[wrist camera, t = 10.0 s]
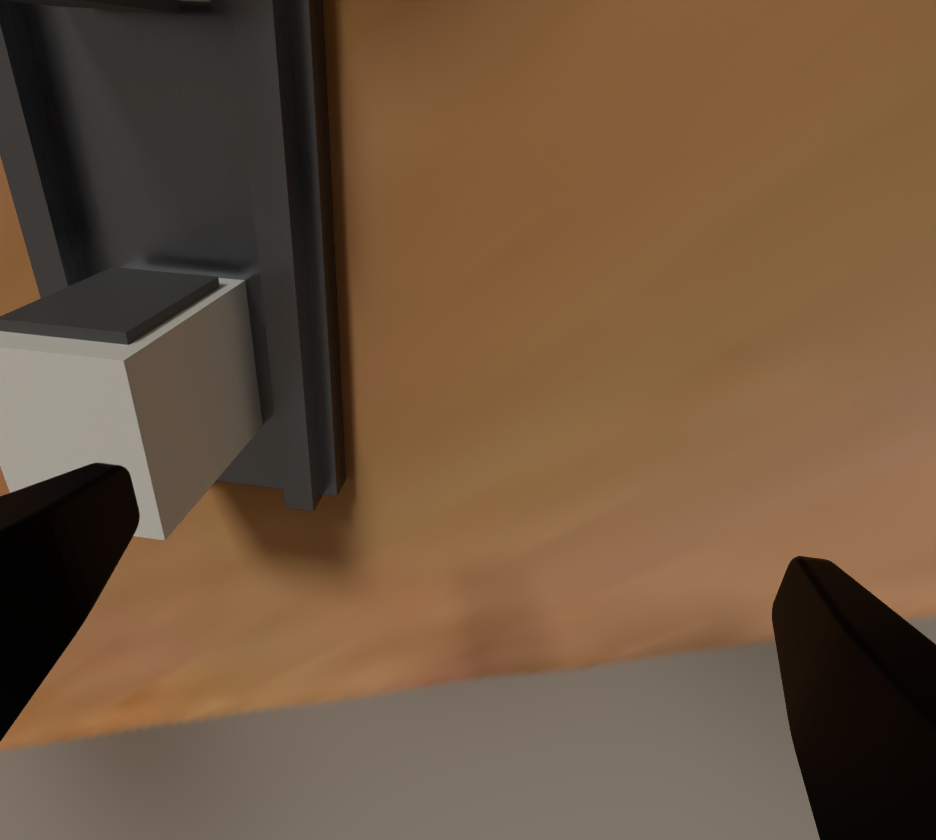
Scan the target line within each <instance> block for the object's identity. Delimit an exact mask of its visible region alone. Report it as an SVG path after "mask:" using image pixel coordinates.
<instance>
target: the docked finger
mask: <svg viewBox="0 0 936 840" xmlns="http://www.w3.org/2000/svg"><path fill="white" fill-rule="evenodd" d="M4 1H13V2H21V3H30V4H39V5H48V6H59V7H76V8H94V9H112V10H129V11H147V12H164V13H180V12H179V5H178V0H4ZM182 1H200V2H210V0H182Z"/></svg>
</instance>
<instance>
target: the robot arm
mask: <svg viewBox="0 0 936 840" xmlns="http://www.w3.org/2000/svg"><path fill="white" fill-rule="evenodd" d="M139 519H140V513H139V508H138V504H137V500H136V496H135V491H134V487H133V483H132V479H131V476H130V473H129V471H128V470H127V469H126V468H125V467H123V466H121V465H114V464H106V463H92V464H89V465H86V466H83V467H81V468H78V469H75V470H72V471H70V472H67V473H64V474H61V475H58V476H56V477H53V478H50V479H47V480H45V481H42V482H39V483H36V484H33V485H31V486H28V487H25V488H22V489H20V490H17V491H14V492H11V493H9V494H6V495H3V496H0V741H1V740H2V739H3V737H4V736H5V734H6V733H7V731H8V730H9V729H10V727H11V726H12V724H13V723H14V721H15V720H16V719H17V717H18V716H19V714H20V713H21V712H22V710H23V709H24V707H25V706H26V704H27V703H28V702H29V700H30V699H31V697H32V696H33V695H34V693H35V692H36V690H37V689H38V687H39V686H40V685H41V683H42V682H43V680H44V679H45V677H46V676H47V675H48V673H49V672H50V670H51V669H52V668H53V666H54V665H55V663H56V662H57V660H58V659H59V658H60V656H61V655H62V653H63V652H64V651H65V649H66V648H67V646H68V645H69V643H70V642H71V641H72V639H73V638H74V636H75V635H76V633H77V632H78V630H79V629H80V627H81V626H82V624H83V623H84V621H85V620H86V618H87V616H88V614H89V613H90V611H91V610H92V608H93V606H94V605H95V603H96V601H97V599H98V597H99V596H100V594H101V592H102V590H103V589H104V587H105V585H106V583H107V582H108V580H109V578H110V576H111V574H112V573H113V571H114V569H115V567H116V566H117V564H118V562H119V560H120V558H121V557H122V555H123V553H124V551H125V550H126V548H127V546H128V544H129V543H130V541H131V539H132V537H133V535H134V534H135V532H136V530H137V527H138V524H139ZM772 623H773V629H774V635H775V641H776V647H777V653H778V659H779V666H780V672H781V678H782V684H783V691H784V697H785V703H786V709H787V715H788V720H789V726H790V731H791V736H792V740H793V744H794V748H795V751H796V755H797V759H798V762H799V766H800V769H801V773H802V777H803V780H804V784H805V787H806V791H807V794H808V798H809V802H810V805H811V809H812V812H813V816H814V819H815V823H816V827H817V830H818V834H819V837H820V840H936V644H934V643H933V642H932V641H931V640H930V639H928V638H927V637H926V636H924V635H923V634H922V633H921V632H919V631H918V630H917V629H916V628H914V627H913V626H912V625H911V624H909V623H908V622H907V621H906V620H904V619H903V618H902V617H901V616H899V615H898V614H897V613H896V612H894V611H893V610H892V609H891V608H889V607H888V606H887V605H886V604H884V603H883V602H882V601H881V600H879V599H878V598H877V597H876V596H874V595H873V594H872V593H870V592H869V591H868V590H867V589H865V588H864V587H863V586H862V585H860V584H859V583H858V582H857V581H855V580H854V579H853V578H852V577H850V576H849V575H848V574H847V573H845V572H844V571H843V570H842V569H840V568H839V567H838V566H837V565H835V564H834V563H833V562H831V561H829V560H826V559H819V558H811V557H804V556H798V557H795V558H793V559H792V560H791V562H790V563H789V565H788V567H787V570H786V572H785V575H784V577H783V580H782V582H781V585H780V588H779V590H778V593H777V595H776V598H775V600H774V603H773V608H772Z"/></svg>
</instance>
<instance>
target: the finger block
mask: <svg viewBox="0 0 936 840" xmlns="http://www.w3.org/2000/svg"><path fill="white" fill-rule="evenodd" d="M262 426H263V424H262V416H261V408H260V399H259V391H258V383H257V375H256V366H255V358H254V350H253V341H252V333H251V325H250V317H249V308H248V300H247V292H246V284H245V280H237V279H226V278H218V277H214V276H204V275H193V274H183V273H172V272H162V271H151V270H141V269H130V268H120V267H112V268H109V269H107V270H105V271H103V272H100V273H98V274H96V275H94V276H91V277H89V278H87V279H84V280H82V281H80V282H78V283H75V284H73V285H71V286H69V287H66V288H64V289H62V290H60V291H57V292H55V293H53V294H50V295H48V296H46V297H44V298H41V299H39V300H37V301H35V302H32V303H30V304H28V305H26V306H23V307H21V308H19V309H16V310H14V311H12V312H10V313H7V314H5V315H3V316H1V317H0V466H1V469H2V472H3V475H4V477H5V480H6V483H7V486H8V488H9V491H10V493H11V492H14V491H17V490H20V489H22V488H25V487H28V486H31V485H33V484H36V483H39V482H42V481H45V480H47V479H50V478H53V477H56V476H58V475H61V474H64V473H67V472H70V471H72V470H75V469H78V468H81V467H83V466H86V465H89V464H92V463H106V464H114V465H121V466H123V467H125V468H126V469H127V470H128V471H129V473H130V476H131V479H132V483H133V487H134V491H135V496H136V500H137V504H138V508H139V513H140V519H139V524H138V527H137V530H136V532H135V534H134V535H133V536H137V537H144V538H151V539H159V540H166V539H167V537H168V536H169V535H170V534H171V533H172V531H173V530H174V529H175V528H176V527H177V526H178V524H179V523H180V522H181V521H182V520H183V519H184V517H185V516H186V515H187V514H188V513H189V512H190V510H191V509H192V508H193V507H194V506H195V505H196V503H197V502H198V501H199V500H200V499H201V497H202V496H203V495H204V494H205V493H206V492H207V490H208V489H209V488H210V487H211V486H212V485H213V483H214V482H215V481H216V480H217V479H218V478H219V476H220V475H221V474H222V473H223V472H224V471H225V469H226V468H227V467H228V466H229V465H230V463H231V462H232V461H233V460H234V459H235V458H236V456H237V455H238V454H239V453H240V452H241V451H242V449H243V448H244V447H245V446H246V445H247V444H248V442H249V441H250V440H251V439H252V438H253V437H254V435H255V434H256V433H257V432H258V431H259V429H260V428H261V427H262Z"/></svg>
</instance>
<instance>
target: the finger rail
mask: <svg viewBox="0 0 936 840" xmlns="http://www.w3.org/2000/svg"><path fill="white" fill-rule="evenodd" d="M178 5H179V12H180V13H164V12H147V11H129V10H112V9H94V8H76V7H59V6H48V5H39V4H30V3H21V2H13V1H4V0H0V155H1V159H2V163H3V166H4V170H5V173H6V177H7V180H8V184H9V187H10V191H11V194H12V198H13V201H14V205H15V208H16V212H17V216H18V219H19V223H20V226H21V230H22V233H23V237H24V240H25V244H26V247H27V251H28V254H29V258H30V262H31V265H32V269H33V272H34V276H35V279H36V283H37V286H38V290H39V293H40V297H41V298H44V297H46V296H48V295H50V294H53V293H55V292H57V291H60V290H62V289H64V288H66V287H69V286H71V285H73V284H75V283H78V282H80V281H82V280H84V279H87V278H89V277H91V276H94V275H96V274H98V273H100V272H103V271H105V270H107V269H109V268H112V267H120V268H130V269H141V270H151V271H162V272H172V273H183V274H193V275H204V276H214V277H218V278H226V279H237V280H245V284H246V292H247V300H248V308H249V317H250V325H251V333H252V341H253V350H254V358H255V366H256V375H257V383H258V391H259V399H260V408H261V416H262V424H263V426H262V427H261V428H260V429H259V431H258V432H257V433H256V434H255V435H254V437H253V438H252V439H251V440H250V441H249V442H248V444H247V445H246V446H245V447H244V448H243V449H242V451H241V452H240V453H239V454H238V455H237V456H236V458H235V459H234V460H233V461H232V462H231V463H230V465H229V466H228V467H227V468H226V469H225V471H224V472H223V473H222V474H221V475H220V476H219V478H218V479H217V480H216V481H224V482H231V483H239V484H247V485H255V486H262V487H270V488H278V489H283V494H284V503H285V508H291V509H298V510H306V511H314V510H315V508H316V506H317V504H318V503H319V501H320V499H321V497H322V496H323V494H324V495H332V496H337V495H338V493H339V492H340V490H341V488H342V486H343V484H344V482H345V480H346V477H345V457H344V436H343V415H342V395H341V374H340V353H339V333H338V312H337V292H336V271H335V250H334V230H333V209H332V188H331V168H330V147H329V127H328V106H327V85H326V65H325V44H324V23H323V3H322V0H210V2H200V1H182V0H178Z"/></svg>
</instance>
